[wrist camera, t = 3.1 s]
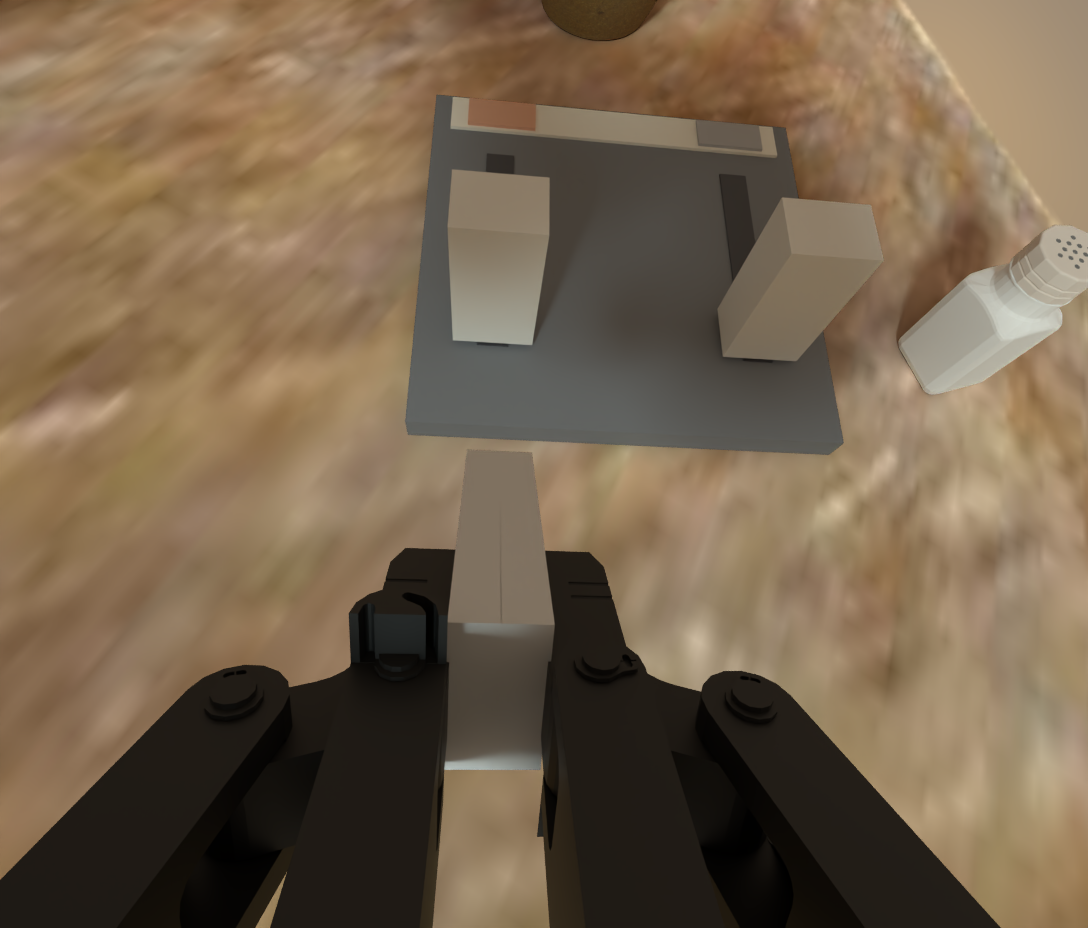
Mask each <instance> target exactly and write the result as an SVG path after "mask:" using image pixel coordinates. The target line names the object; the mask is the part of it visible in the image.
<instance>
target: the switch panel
mask: <svg viewBox="0 0 1088 928" xmlns="http://www.w3.org/2000/svg"><path fill="white" fill-rule="evenodd" d="M452 169H454V170H466V171H478V172H489V173H501V174H513V175H525V176H537V177H548V178H550V189H549V240H548V247H547V253H546V260H545V266H544V272H543V279H542V285H541V292H540V298H539V304H538V311H537V317H536V324H535V330H534V336H533V343H532V345H522V344H505V343H489V342H473V341H456V340H453V333H452V312H451V291H450V269H449V248H448V215H449V202H450V189H451V177H452ZM782 197H784V198H796V199H799V198H798V192H797V187H796V181H795V176H794V171H793V165H792V160H791V154H790V149H789V144H788V138H787V133H786V128H782V127H771V126H761V125H750V124H740V123H729V122H719V121H708V120H698V119H687V118H677V117H666V116H656V115H645V114H635V113H624V112H614V111H603V110H592V109H582V108H571V107H561V106H550V105H540V104H529V103H519V102H508V101H498V100H487V99H477V98H466V97H456V96H445V95H437V96H436V107H435V117H434V128H433V138H432V149H431V159H430V169H429V180H428V190H427V201H426V211H425V222H424V232H423V242H422V253H421V263H420V274H419V284H418V294H417V305H416V315H415V326H414V336H413V347H412V357H411V367H410V378H409V388H408V399H407V409H406V419H405V422H406V427H407V432H408V435H426V436H447V437H468V438H489V439H510V440H531V441H552V442H573V443H594V444H615V445H636V446H657V447H678V448H699V449H720V450H741V451H762V452H783V453H804V454H825V455H829V454H831V453H832V452H833V451H834V450H836V449H837V448H838V447H839V446H841V445H842V444H843V443H844V442H843V436H842V431H841V425H840V420H839V414H838V409H837V404H836V398H835V393H834V387H833V382H832V377H831V371H830V366H829V360H828V355H827V349H826V344H825V339H824V333H823V331H822V332H821V334H820V335H819V336H818V337H817V338H816V339H815V340H814V342H813V343H812V344H811V345H810V346H809V347H808V348H807V350H806V351H805V352H804V353H803V354H802V355H801V356H800V358H799V359H798V360H797V361H784V360H767V359H751V358H734V357H723V354H722V345H721V336H720V327H719V318H718V310H717V309H718V307H719V305H720V304H721V302H722V300H723V298H724V297H725V295H726V293H727V291H728V290H729V288H730V286H731V285H732V283H733V281H734V279H735V278H736V276H737V274H738V272H739V271H740V269H741V267H742V266H743V264H744V262H745V260H746V259H747V257H748V255H749V253H750V252H751V250H752V248H753V247H754V245H755V243H756V241H757V240H758V238H759V236H760V234H761V233H762V231H763V229H764V228H765V226H766V224H767V222H768V221H769V219H770V217H771V215H772V214H773V212H774V210H775V209H776V207H777V205H778V203H779V202H780V200H781V198H782Z"/></svg>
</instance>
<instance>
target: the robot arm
mask: <svg viewBox="0 0 1088 928" xmlns="http://www.w3.org/2000/svg"><path fill="white" fill-rule="evenodd" d="M349 629H350V652H351V664H350V667H349V668H348V669H346V670H345V671H343V672H341V673H339V674H337V675H335V676H333V677H330V678H327V679H324V680H320V681H317V682H313V683H308V684H303V685H298V686H294V687H289V685H288V681H287V680H286V678H285V677H284V676H283V675H282V674H281V673H280V672H279V671H276V670H274V669H271V668H268V667H266V666H258V665H242V666H236V667H231V668H226V669H222V670H220V671H218V672H215V673H213V674H211V675H209V676H206V677H204V678H202V679H201V680H200V681H199V682H197V683H196V684H195V685H193V686H192V687H191V688H189V689H188V690H187V691H186V692H185V693H184V694H183V695H182V696H181V697H180V698H179V699H178V700H177V701H176V702H175V703H174V704H173V705H172V706H171V707H170V708H169V709H168V710H167V711H166V712H165V713H164V714H163V715H162V716H161V717H160V718H159V719H158V720H157V721H156V722H155V723H154V724H153V725H152V726H151V727H150V728H149V729H148V730H147V731H146V732H145V733H144V735H143V736H142V737H141V738H140V739H139V740H138V741H137V742H136V743H135V744H134V745H133V746H132V747H131V748H130V749H129V750H128V751H127V752H126V753H125V754H124V755H123V756H122V757H121V758H120V759H119V760H118V761H117V762H116V763H115V764H114V765H113V766H112V767H111V768H110V769H109V770H108V771H107V772H106V773H105V774H104V775H103V776H102V777H101V778H100V779H99V780H98V781H97V782H96V783H95V784H94V785H93V786H92V787H91V788H90V789H89V790H88V791H87V792H86V793H85V794H84V795H83V796H82V797H81V798H80V800H79V801H78V802H77V803H76V804H75V805H74V806H73V807H72V808H71V809H70V810H69V811H68V812H67V813H66V814H65V815H64V816H63V817H62V818H61V819H60V820H59V821H58V822H57V823H56V824H55V825H54V826H53V827H52V828H51V829H50V830H49V831H48V832H47V833H46V834H45V835H44V836H43V837H42V838H41V839H40V840H39V841H38V842H37V843H36V844H35V845H34V846H33V847H32V848H31V849H30V850H29V851H28V852H27V853H26V854H25V855H24V856H23V857H22V858H21V859H20V860H19V861H18V862H17V863H16V865H15V866H14V867H13V868H12V869H11V870H10V871H9V872H8V873H7V874H6V875H5V876H4V877H3V878H2V879H1V880H0V928H255V927H256V925H257V923H258V922H259V920H260V918H261V916H262V915H263V913H264V911H265V909H266V908H267V906H268V904H269V902H270V901H271V899H272V897H273V895H274V894H275V892H276V890H277V888H278V886H279V885H280V883H281V881H282V879H283V878H284V876H285V874H286V872H287V874H286V877H285V881H284V884H283V887H282V891H281V894H280V897H279V900H278V904H277V907H276V910H275V914H274V917H273V920H272V923H271V927H270V928H432V926H433V914H434V902H435V891H436V879H437V867H438V855H439V843H440V832H441V820H442V808H443V787H444V770H540V768H541V758H543V771H544V775H543V785H542V795H541V804H540V814H539V824H538V834H537V837H544V851H545V866H546V880H547V895H548V909H549V924H550V928H1000V926H999V925H998V924H997V923H996V922H995V921H994V920H993V919H992V918H991V917H990V915H989V914H988V913H987V912H986V911H985V910H984V909H983V908H982V907H981V905H980V904H979V903H978V902H977V901H976V900H975V899H974V898H973V897H972V896H971V894H970V893H969V892H968V891H967V890H966V889H965V888H964V887H963V886H962V884H961V883H960V882H959V881H958V880H957V879H956V878H955V877H954V876H953V875H952V873H951V872H950V871H949V870H948V869H947V868H946V867H945V866H944V865H943V863H942V862H941V861H940V860H939V859H938V858H937V857H936V856H935V855H934V854H933V852H932V851H931V850H930V849H929V848H928V847H927V846H926V845H925V844H924V842H923V841H922V840H921V839H920V838H919V837H918V836H917V835H916V834H915V833H914V831H913V830H912V829H911V828H910V827H909V826H908V825H907V824H906V823H905V821H904V820H903V819H902V818H901V817H900V816H899V815H898V814H897V813H896V812H895V810H894V809H893V808H892V807H891V806H890V805H889V804H888V803H887V802H886V800H885V799H884V798H883V797H882V796H881V795H880V794H879V793H878V792H877V791H876V789H875V788H874V787H873V786H872V785H871V784H870V783H869V782H868V781H867V779H866V778H865V777H864V776H863V775H862V774H861V773H860V772H859V771H858V770H857V768H856V767H855V766H854V765H853V764H852V763H851V762H850V761H849V760H848V758H847V757H846V756H845V755H844V754H843V753H842V752H841V751H840V750H839V749H838V747H837V746H836V745H835V744H834V743H833V742H832V741H831V740H830V739H829V737H828V736H827V735H826V734H825V733H824V732H823V731H822V730H821V729H820V728H819V726H818V725H817V724H816V723H815V722H814V721H813V720H812V719H811V718H810V716H809V715H808V714H807V713H806V712H805V711H804V710H803V709H802V708H801V706H800V705H799V704H798V703H797V702H796V701H795V700H794V699H793V698H792V697H791V696H790V695H789V694H788V693H787V692H786V691H785V690H783V689H782V688H781V687H780V686H779V685H777V684H776V683H774V682H772V681H770V680H768V679H766V678H764V677H762V676H760V675H756V674H751V673H747V672H743V671H723V672H721V673H718V674H715V675H712V676H710V678H709V679H708V680H707V681H706V682H705V683H704V684H703V687H702V691H701V692H700V691H696V690H692V689H688V688H684V687H680V686H676V685H673V684H670V683H667V682H664V681H661V680H659V679H657V678H655V677H653V676H651V675H649V674H648V673H647V672H646V668H645V666H644V664H643V663H642V661H641V659H640V658H639V656H638V655H637V654H635V653H634V652H633V651H632V650H630V649H629V648H628V647H626V644H625V640H624V637H623V633H622V630H621V626H620V623H619V619H618V616H617V612H616V609H615V605H614V602H613V600H612V595H611V591H610V587H609V586H608V580H607V577H606V573H605V570H604V567H603V566H602V565H601V564H600V563H599V562H598V561H597V560H596V559H595V558H594V557H593V556H592V555H591V554H590V553H589V552H565V551H545V548H544V540H543V533H542V525H541V518H540V510H539V503H538V495H537V488H536V480H535V473H534V465H533V457H532V453H530V452H509V451H487V450H467V455H466V463H465V472H464V480H463V489H462V498H461V506H460V515H459V524H458V532H457V541H456V550H449V549H419V548H405V549H404V550H403V551H402V552H401V553H400V554H399V555H398V556H396V557H395V558H394V559H393V560H392V561H391V562H390V565H389V569H388V572H387V576H386V582H385V583H384V586H383V590H381V591H378V592H374V593H371V594H369V595H367V596H366V597H364V598H363V599H361V600H359V601H358V602H356V604H355V605H354V607H353V608H352V609H351V611H350V612H349Z"/></svg>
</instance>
